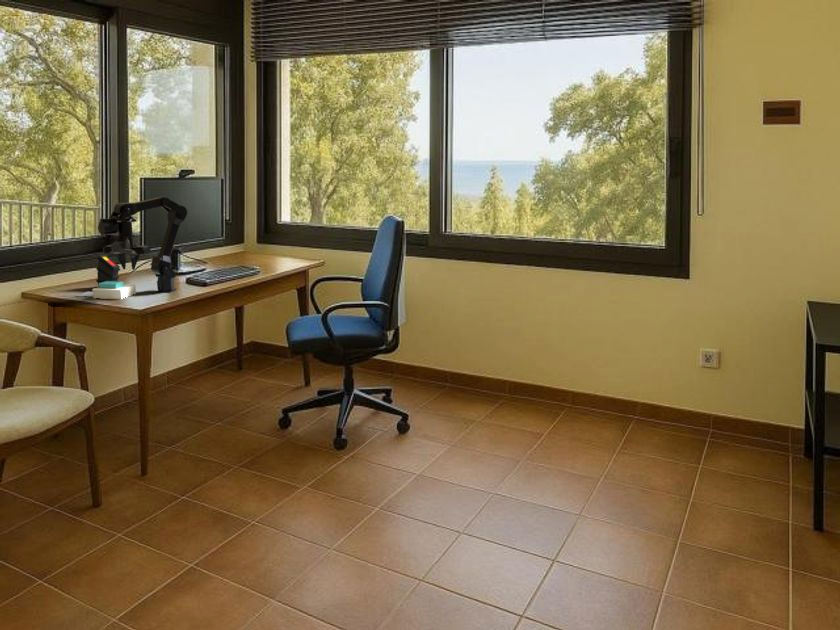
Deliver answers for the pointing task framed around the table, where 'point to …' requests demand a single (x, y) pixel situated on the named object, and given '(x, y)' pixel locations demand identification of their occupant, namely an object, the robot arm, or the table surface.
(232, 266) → the table surface
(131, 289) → the white flat block
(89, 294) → the mat
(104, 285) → the turquoise slab
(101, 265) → the black stepped slab
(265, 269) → the table surface
